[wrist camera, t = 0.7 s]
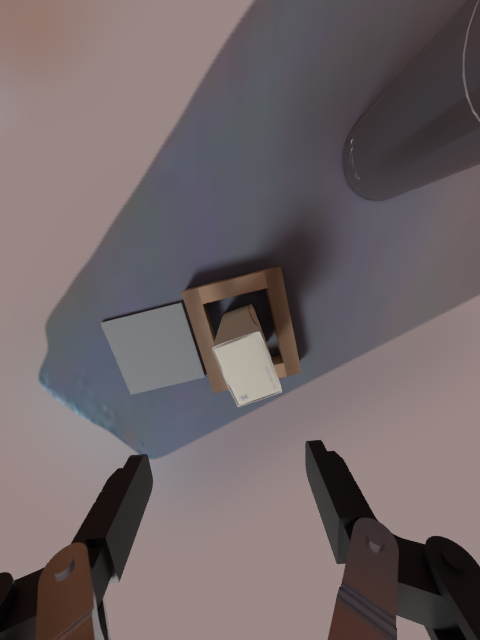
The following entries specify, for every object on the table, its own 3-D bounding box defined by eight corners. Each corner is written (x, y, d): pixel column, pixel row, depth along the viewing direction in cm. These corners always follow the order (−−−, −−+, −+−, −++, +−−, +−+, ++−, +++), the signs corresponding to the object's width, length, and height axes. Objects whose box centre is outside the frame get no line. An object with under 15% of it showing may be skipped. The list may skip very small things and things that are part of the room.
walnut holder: (277, 266, 29) (280, 266, 26) (296, 364, 32) (301, 372, 30) (185, 289, 29) (181, 291, 27) (214, 383, 33) (213, 393, 30)
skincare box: (267, 343, 31) (285, 394, 20) (236, 354, 32) (237, 410, 20) (251, 301, 30) (261, 329, 18) (220, 313, 30) (210, 348, 18)
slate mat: (181, 302, 30) (181, 302, 29) (205, 375, 33) (205, 377, 32) (102, 322, 30) (100, 323, 30) (132, 393, 33) (131, 394, 33)
